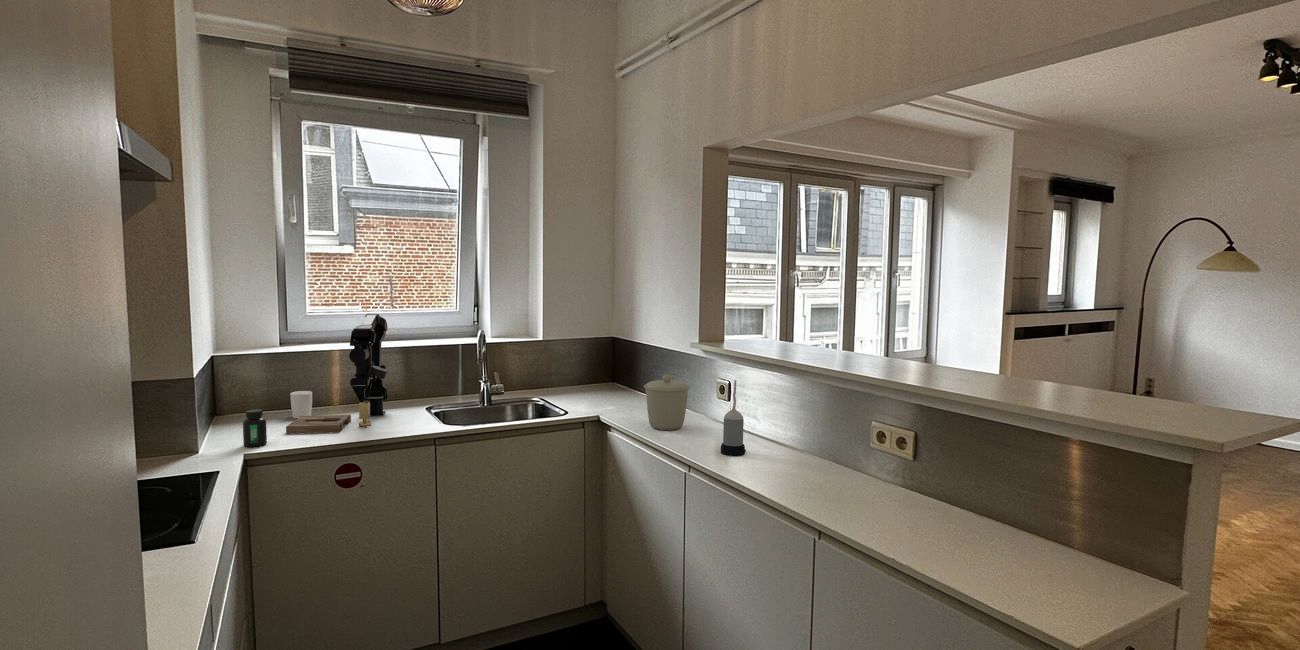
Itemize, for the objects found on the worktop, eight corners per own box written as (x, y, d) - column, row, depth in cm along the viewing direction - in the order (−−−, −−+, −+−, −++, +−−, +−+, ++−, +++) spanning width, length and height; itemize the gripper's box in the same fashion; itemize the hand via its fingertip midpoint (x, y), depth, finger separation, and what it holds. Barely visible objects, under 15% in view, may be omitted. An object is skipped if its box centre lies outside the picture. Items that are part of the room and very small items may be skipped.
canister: (638, 423, 264) (639, 371, 262) (681, 421, 269) (682, 370, 267) (650, 434, 246) (651, 378, 245) (695, 431, 251) (696, 377, 250)
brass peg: (360, 424, 254) (359, 401, 253) (372, 424, 255) (371, 401, 254) (357, 427, 250) (356, 403, 249) (369, 427, 250) (369, 403, 250)
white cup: (291, 415, 267) (290, 391, 267) (312, 414, 271) (312, 390, 270) (290, 419, 260) (290, 395, 260) (313, 418, 264) (312, 393, 263)
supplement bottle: (257, 448, 219) (256, 413, 218) (238, 447, 219) (237, 412, 218) (271, 443, 226) (270, 409, 225) (253, 442, 226) (251, 408, 225)
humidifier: (750, 454, 221) (752, 381, 219) (731, 457, 217) (733, 383, 215) (734, 448, 228) (735, 377, 226) (715, 451, 224) (717, 379, 221)
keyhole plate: (301, 422, 256) (301, 415, 255) (350, 421, 259) (350, 414, 259) (286, 434, 238) (285, 426, 238) (339, 432, 242) (339, 424, 242)
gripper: (381, 363, 243) (382, 404, 244) (390, 356, 261) (391, 394, 262) (349, 363, 240) (350, 405, 242) (360, 356, 259) (361, 395, 260)
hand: (364, 400), depth 251 cm, fingers open, 9 cm apart
